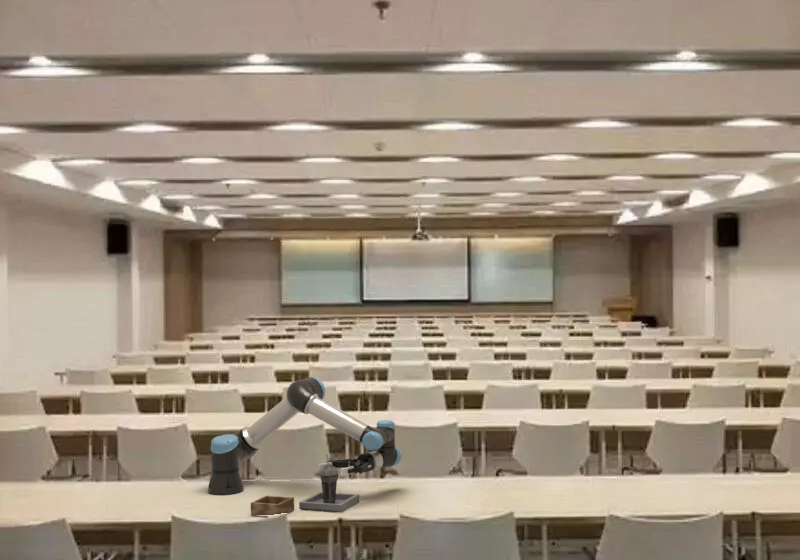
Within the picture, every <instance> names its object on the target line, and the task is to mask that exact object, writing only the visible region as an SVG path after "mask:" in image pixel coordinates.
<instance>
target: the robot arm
mask: <svg viewBox="0 0 800 560" xmlns="http://www.w3.org/2000/svg"><path fill="white" fill-rule="evenodd" d="M325 395H326V388H325V384H324V383H323V382H322V380H321V379H319V378H317V377H315V376H307V377H306V378H303V379H299V380H295V381H293V382H292V383H291V384H290V385H289V386H288V387H287V390H286V397H284V398H283V399H282V400H281V401H280V402H278V403H277V404H276V405H274V406H273V408H271V409H269V410H268V411H267V412H266V413H265V414H263V415H262V417H260V418H259V419H258V420H257V421H254V423H253V424H251V425H250V426H244V427H242V428H241V429H240V430H239V431H237V432H236V433H235V434H231V433H228V434H222V435H217V436H215V437H213V438H212V440H211V441H210V443H211V444H210V457H211V458H210V459H211V460H210V461H211V463H210V464H211V476H210V479H209V482H208V486H207V492H209V493H208V494H210V493H211V495H215V496H216V495H217V496H218V495H219V496H222V495H223V496H225V495H234V494H238V493H239V494H240V493H241V492H243V491H244V490H245V487H244V486H245V485H244V482H243V479H242V476H241V474H240V462H243V461H245V460H248V459H251V458H252V457H253V456H255V455H256V453H257V452H258V450H259V449H261V447H262V445H263V444H262V443H263V442H264V441H265V440H267V439H268V438H269V437H270V436H271V435H273V434H274V433H275V432H276V431H278V430H279V429H280V428H281V427H282V426H284V425H286V423H288V421H290V420H291V419H293V418H294V417H295V416H296V415H298V414H299V413H302V414H304V415H306V416H307V415H312V416H313V417H315V418H316V419H317V420H320V421H322V422H324V423H326V424H327V425H329V426H331V427H333V428H335V430H338V431H340V432H341V433H343V434H346V435H347V436H349V437H351V438H352V439H354V440H356V441H358V442H360V443H361V444H362V445H363V447H364V448H365V450H368V451H369V452H365V453H361V454H358V456H357V458H353V459H352V458H347V459H346V458H344V459H334V460H328V462H329V465H333V466H334V467H335V468H336V469H339V468H340V469H339V475H340V477H342V476H348V475H352V474H359V475H360V474H363V473H368V472H371V471H374V472H376V471H377V470H380V469H384V468H391V467H393V466H396V465H398V464H400V462H401V461H402V453H401V451H400V449H399V448H397V447H396V434H395V433H396V432H395V431H396V429H395V428H396V427H395V422H394V421H393V420H388V419H386V420H385V419H384V420H378V421H377V422H376V428H374V427H372V426H370V425H369V424H367V423H365V422H363V421H361V420H360V419H358V418H356V417H354V416H352V415H350V414H349V413H347V412H345V411H344V410H342V409H339V408H338V407H336V406H334V405H332V404H330V403H329V402H327V401H325V400H324V398H325ZM317 465H318V467H317V468H318V472H321V470H322V468H323V467H324V466H325V465H327V462H324V463H319V464H317Z"/></svg>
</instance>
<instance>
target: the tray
mask: <svg viewBox="0 0 800 560" xmlns="http://www.w3.org/2000/svg"><path fill="white" fill-rule="evenodd" d="M358 503H360V494H357V493H355V494H353V493H340V492H336V500H335V504H331V503H324V501H323V493H322V491H318V492H316V493H314V494H312V495H311V496H309V497H307V498H305V499H303V500H301V501H299V502H298V504H299V505H298V508H299V509H301V510H300V511H308V510H311V512H321V511H323V512H324V513H325V512H326V513H335V512H342V511H343V512H345V511H347V510H348V509H350V508H352V507H353V506H355V505H357V504H358ZM346 509H347V510H346ZM343 512H342V513H343Z"/></svg>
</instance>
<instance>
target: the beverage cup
mask: <svg viewBox="0 0 800 560" xmlns="http://www.w3.org/2000/svg"><path fill="white" fill-rule="evenodd" d="M326 461H327V462H326V463H327V465H325V466H324V467H323V468H322V470H321V471H320V474H319V476H320V481H321V492H322V493H323V501H324V503H331V504H335V500H336V493H337V485H338V483H337V482H338V478H339V473H338V472H339V471H338V468H335V467H334V466H333V465H329V462H328V461H329V454H328V453H327V454H326Z"/></svg>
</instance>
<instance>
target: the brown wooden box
mask: <svg viewBox="0 0 800 560" xmlns="http://www.w3.org/2000/svg"><path fill="white" fill-rule="evenodd" d="M293 510H294V511H295V497H291V496H277V495H265V496H264V495H263V496H262V497H259V499H257V500H254V501H252V502H250V516H251V515H274V514H281V513H288V514H290V513H291V511H292V512H294V511H293ZM289 512H290V513H289Z"/></svg>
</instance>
